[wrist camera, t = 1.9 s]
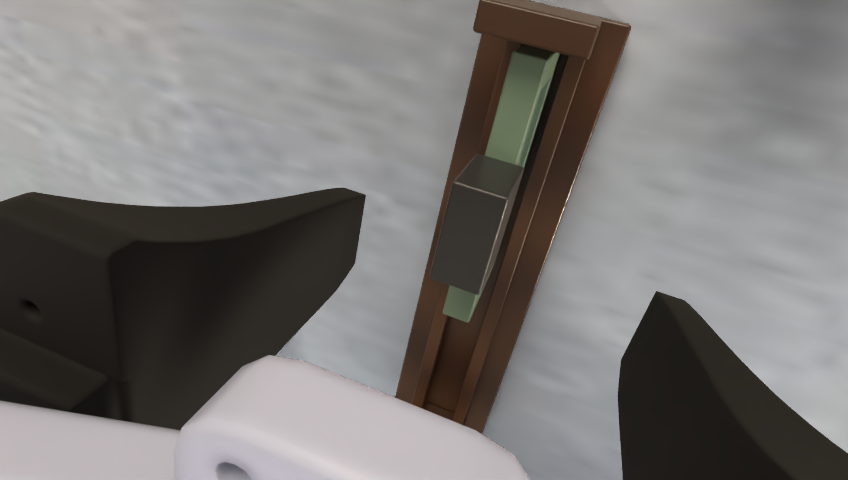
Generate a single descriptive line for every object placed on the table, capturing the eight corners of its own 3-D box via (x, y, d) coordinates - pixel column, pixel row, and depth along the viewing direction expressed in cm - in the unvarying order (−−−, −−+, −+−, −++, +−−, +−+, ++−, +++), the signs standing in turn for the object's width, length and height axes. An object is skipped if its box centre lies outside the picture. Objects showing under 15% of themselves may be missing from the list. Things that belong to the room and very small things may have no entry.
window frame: (497, -7, 19) (441, -12, 13) (630, 24, 18) (643, 36, 12) (401, 385, 29) (342, 496, 22) (486, 419, 28) (449, 544, 21)
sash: (528, 37, 18) (482, 57, 11) (569, 47, 18) (547, 74, 11) (468, 252, 22) (408, 359, 16) (501, 263, 22) (454, 377, 15)
